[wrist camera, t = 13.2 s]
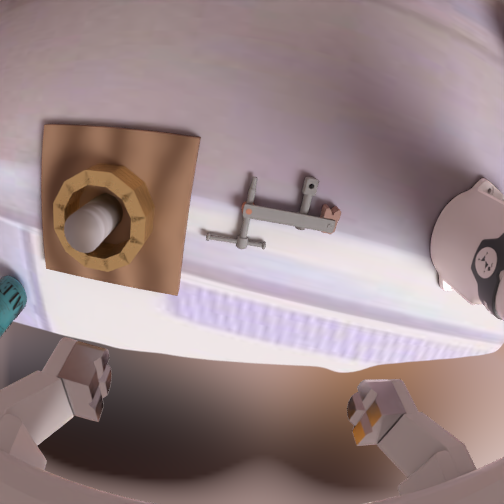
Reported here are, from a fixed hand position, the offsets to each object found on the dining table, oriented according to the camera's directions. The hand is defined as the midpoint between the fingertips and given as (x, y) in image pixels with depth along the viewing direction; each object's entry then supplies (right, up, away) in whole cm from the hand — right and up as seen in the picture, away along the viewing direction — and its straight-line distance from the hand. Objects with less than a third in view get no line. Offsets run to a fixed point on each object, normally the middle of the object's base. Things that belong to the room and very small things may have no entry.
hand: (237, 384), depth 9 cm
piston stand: (-17, +10, +27) cm, 33 cm away
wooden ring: (-17, +9, +26) cm, 32 cm away
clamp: (+3, +9, +29) cm, 30 cm away
